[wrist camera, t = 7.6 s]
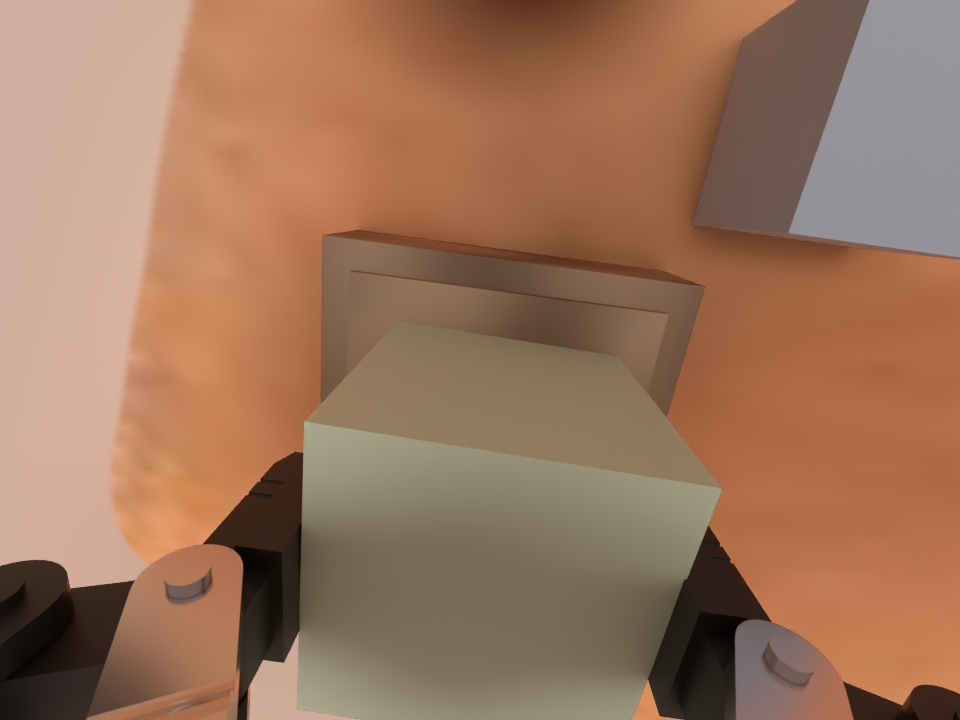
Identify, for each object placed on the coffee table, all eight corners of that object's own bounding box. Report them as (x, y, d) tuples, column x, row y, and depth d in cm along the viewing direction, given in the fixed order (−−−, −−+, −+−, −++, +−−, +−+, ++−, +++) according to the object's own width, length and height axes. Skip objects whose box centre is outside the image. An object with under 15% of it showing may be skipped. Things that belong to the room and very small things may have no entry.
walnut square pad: (664, 271, 14) (708, 287, 11) (598, 524, 18) (618, 589, 15) (357, 229, 14) (319, 235, 11) (348, 490, 18) (317, 548, 15)
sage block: (618, 356, 12) (722, 488, 6) (569, 535, 14) (616, 759, 8) (398, 321, 12) (304, 421, 6) (381, 505, 14) (297, 709, 8)
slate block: (920, 63, 12) (1180, -26, 8) (847, 246, 14) (1025, 266, 9) (742, 38, 12) (892, -67, 8) (690, 224, 14) (788, 233, 9)
